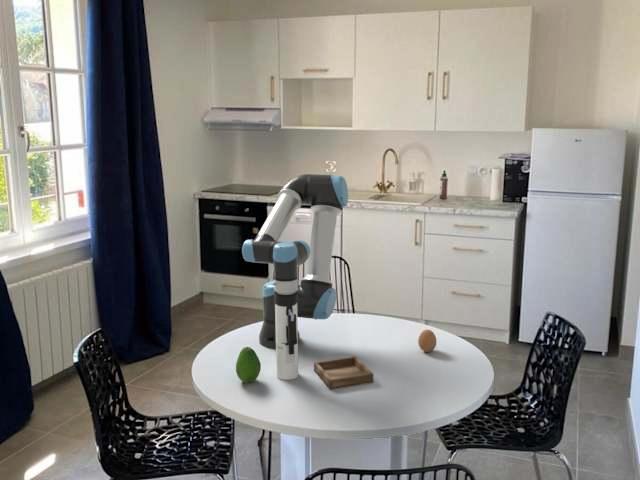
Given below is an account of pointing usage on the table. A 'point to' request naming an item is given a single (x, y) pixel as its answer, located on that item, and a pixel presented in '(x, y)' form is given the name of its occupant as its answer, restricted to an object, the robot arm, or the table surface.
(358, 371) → the tray
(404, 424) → the table surface
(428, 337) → the egg
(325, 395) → the table surface
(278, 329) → the cylindrical container
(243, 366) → the avocado
